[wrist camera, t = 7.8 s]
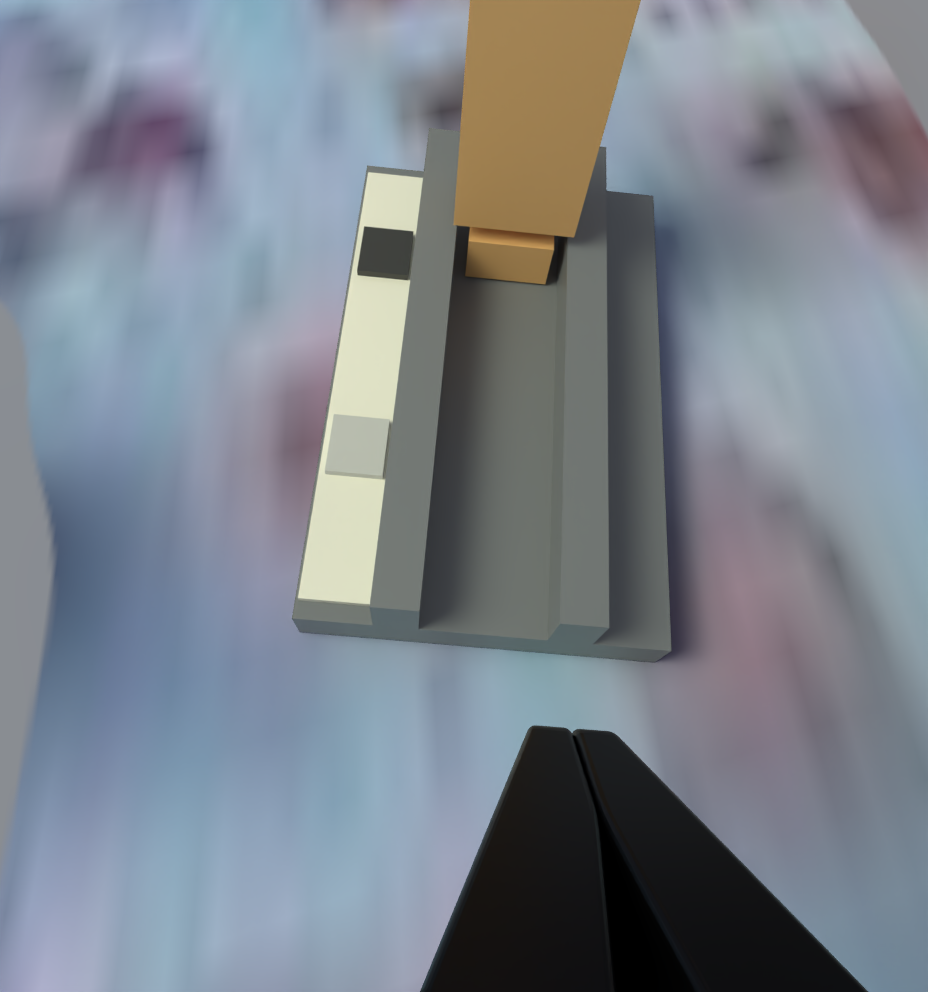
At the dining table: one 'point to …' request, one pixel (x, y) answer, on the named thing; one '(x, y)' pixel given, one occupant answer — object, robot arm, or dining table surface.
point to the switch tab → (533, 125)
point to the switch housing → (492, 435)
